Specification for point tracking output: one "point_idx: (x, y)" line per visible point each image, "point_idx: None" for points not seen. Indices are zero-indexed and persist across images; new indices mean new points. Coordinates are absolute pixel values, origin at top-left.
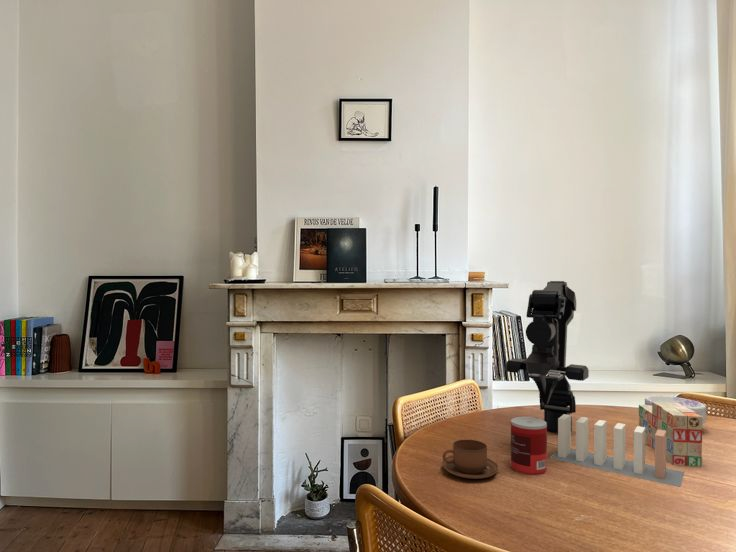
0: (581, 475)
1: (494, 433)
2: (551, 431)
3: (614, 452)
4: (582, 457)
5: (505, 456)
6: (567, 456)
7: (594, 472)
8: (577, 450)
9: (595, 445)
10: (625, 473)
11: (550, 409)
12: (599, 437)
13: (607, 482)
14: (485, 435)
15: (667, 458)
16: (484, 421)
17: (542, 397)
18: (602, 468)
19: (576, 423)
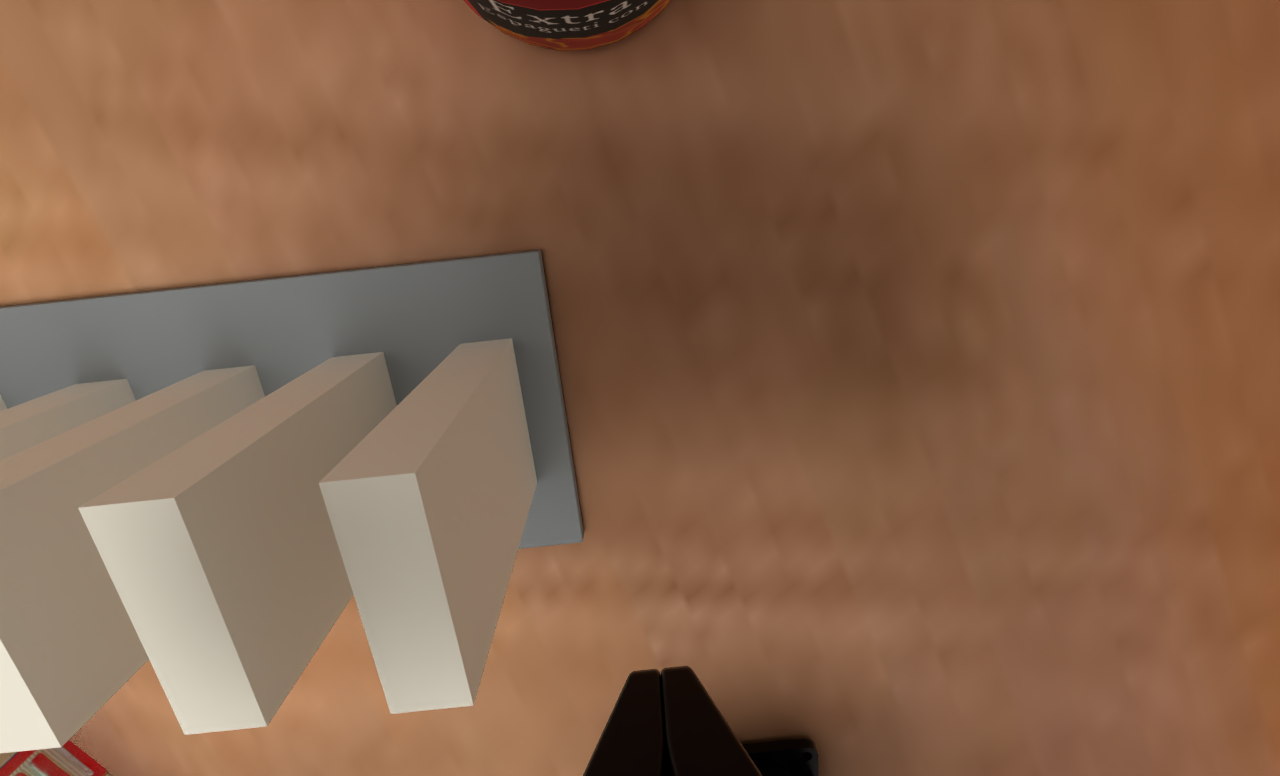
0: (229, 116)
1: (1088, 525)
2: (756, 763)
3: (5, 421)
4: (320, 364)
5: (849, 86)
6: None
7: (207, 253)
8: (336, 376)
9: (138, 417)
10: (18, 335)
11: None
12: (23, 456)
13: (35, 114)
14: (1137, 441)
15: None
16: (1221, 699)
17: (714, 749)
18: (171, 321)
19: (182, 484)
